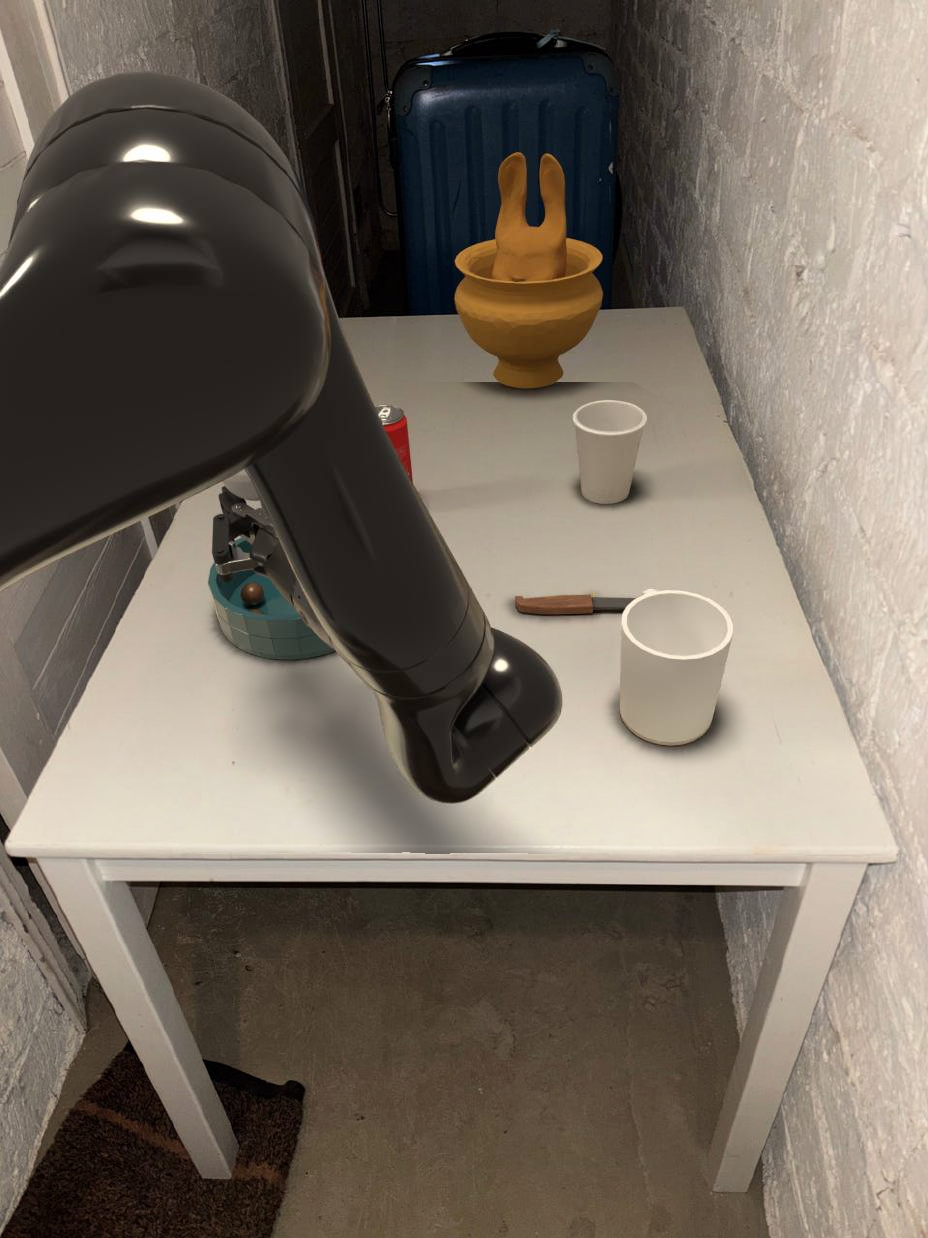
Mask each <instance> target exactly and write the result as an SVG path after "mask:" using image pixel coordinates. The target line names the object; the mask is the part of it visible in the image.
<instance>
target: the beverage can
mask: <svg viewBox="0 0 928 1238" xmlns="http://www.w3.org/2000/svg"><path fill="white" fill-rule="evenodd" d="M374 406H375V408H376V411H377V413H378V415H379V417H380V420H381V422H382V424H383V426H384V428H385V430H386V432H387V434H388V436H389V438H390V440H391V442H392V444H393V446H394V448H395V450H396V452H397V454H398V456H399V458H400V460H401V461H402V463H403V465H404V467H405V469H406V471H407V473H408V475H409V477H410V479H411V480H412V482H413V483H414V478H413V469H412V459H411V448H410V447H411V446H410V438H409V429H408V428H409V427H408V426H409V425H408V418H407V416H406V415H405V412H404V409H402V407H399V406H396V405H392V404H381V405H374Z"/></svg>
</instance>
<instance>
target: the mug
mask: <svg viewBox="0 0 928 1238" xmlns="http://www.w3.org/2000/svg"><path fill="white" fill-rule="evenodd" d="M635 598H636V599H634V600H633V601H632V602H631V603H630V604H629V605H628V606H627V607H626V608H625V609H623V612H622V614H621V622H620V623H621V624H620V667H619V668H620V671H619V672H620V674H619V676H620V677H619V714H620V717H621V720H622V721H623V723H624V724H625V726H626V727H627V728H628V730H629V731H630V732H632V733H633V735H635V736H637V737H639V739H640V738H641V739H642V740H644V741H646V742H649V743H653V744H656V745H658V746H659V745H660V746H669V747H671V746H682V745H686V744H690V743H692V742H694V741H696V740H698V739H699V738H701V737H702V736H704V734H705V733H706V732H707V731H708V730H709V729H710V728H711V725H712V721H713V719H714V714H715V710H716V706H717V701H718V698H719V693H720V689H721V686H722V685H721V684H722V681H723V676H724V673H725V668H726V664H727V661H728V656H729V652H730V648H731V643H732V641H733V636H734V624H733V621H732V619H731V616H730V614H729V613H728V612H727V611H726V610H725V609H724V608H723V607H722V606H721V605H720V604H719V603H717V602H715V601H714V600H712V599H711V598H708V597H706V596H704V595H701V594H699V593H695V592H690V591H685V590H678V589H677V590H675V589H665V590H657V589H656V588H648V589H645V590H643V592H642V594H641V596H639V597H635Z"/></svg>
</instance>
